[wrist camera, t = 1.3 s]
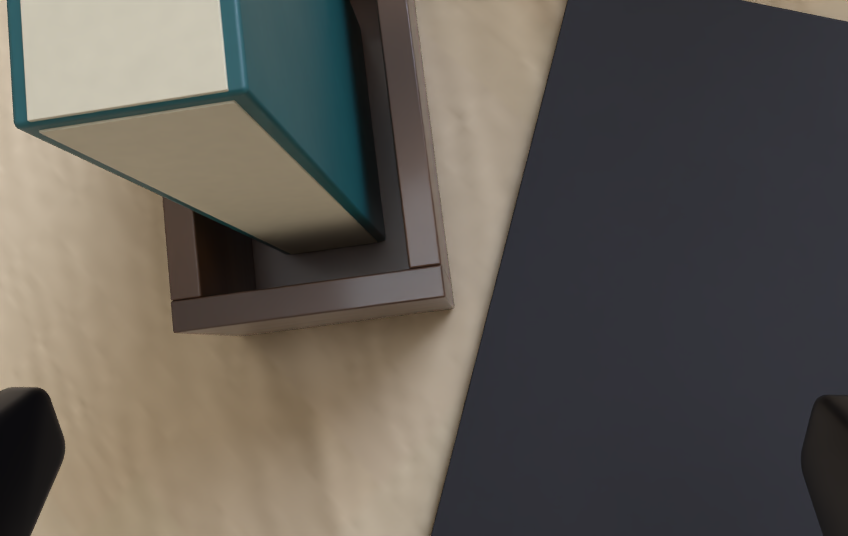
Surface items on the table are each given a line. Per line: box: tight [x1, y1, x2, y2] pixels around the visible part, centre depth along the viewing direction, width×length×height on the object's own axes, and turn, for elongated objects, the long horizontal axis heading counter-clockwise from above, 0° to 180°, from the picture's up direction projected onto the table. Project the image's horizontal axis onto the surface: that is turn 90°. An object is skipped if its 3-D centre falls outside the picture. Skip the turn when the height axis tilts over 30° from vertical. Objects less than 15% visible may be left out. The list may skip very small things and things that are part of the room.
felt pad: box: [431, 0, 848, 536], centre depth 21 cm, size 20×12×1 cm, turn 165°
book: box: [7, 0, 386, 254], centre depth 16 cm, size 7×3×13 cm, turn 7°
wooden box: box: [163, 0, 454, 336], centre depth 21 cm, size 12×7×5 cm, turn 7°
